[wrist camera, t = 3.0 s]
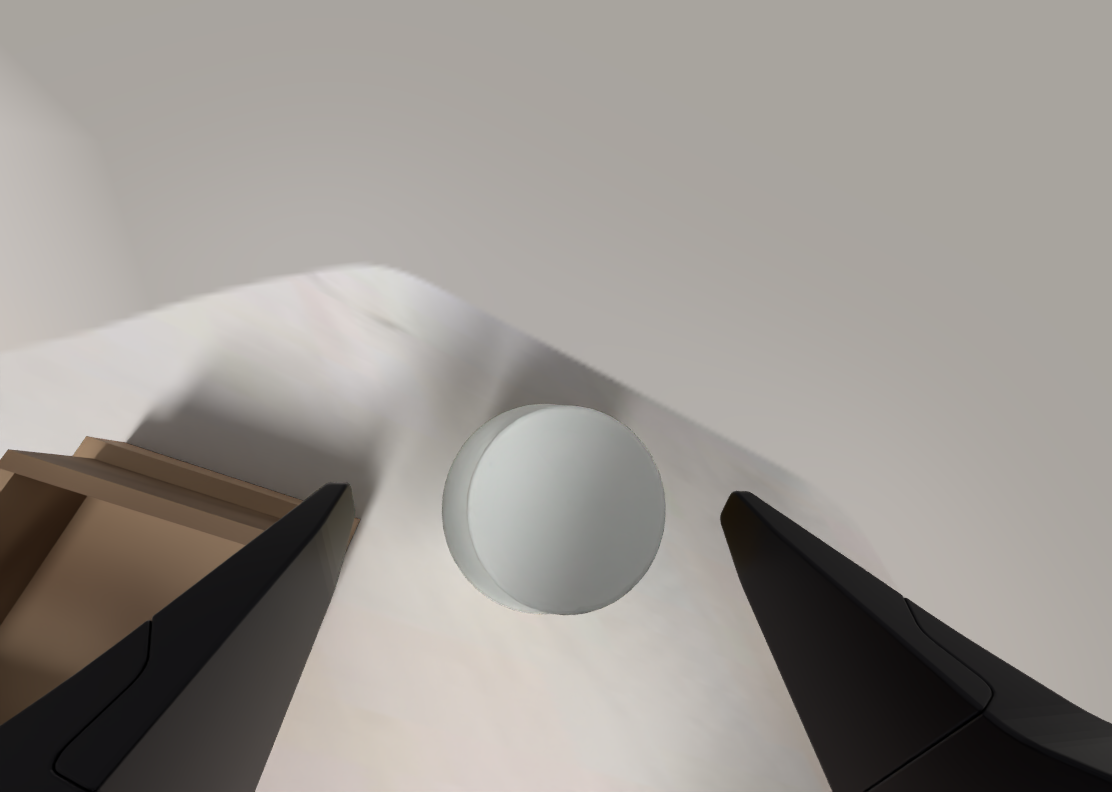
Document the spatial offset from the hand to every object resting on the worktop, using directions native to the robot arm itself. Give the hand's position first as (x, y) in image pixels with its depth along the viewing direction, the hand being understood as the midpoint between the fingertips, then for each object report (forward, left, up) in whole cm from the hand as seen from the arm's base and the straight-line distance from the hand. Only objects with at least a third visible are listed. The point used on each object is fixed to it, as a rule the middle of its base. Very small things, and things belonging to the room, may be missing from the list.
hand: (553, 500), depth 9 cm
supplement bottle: (0, 0, -8) cm, 8 cm away
